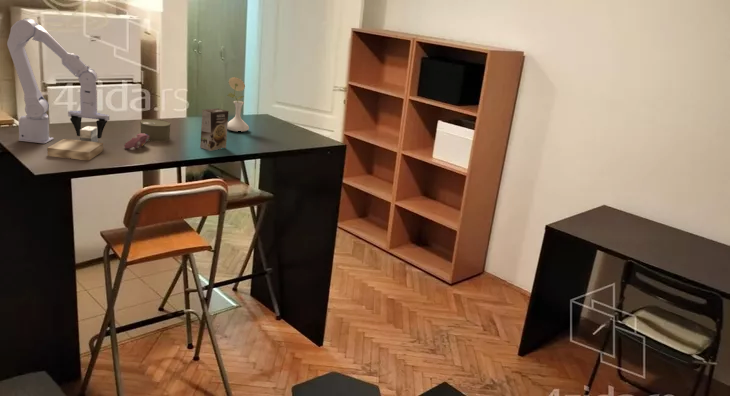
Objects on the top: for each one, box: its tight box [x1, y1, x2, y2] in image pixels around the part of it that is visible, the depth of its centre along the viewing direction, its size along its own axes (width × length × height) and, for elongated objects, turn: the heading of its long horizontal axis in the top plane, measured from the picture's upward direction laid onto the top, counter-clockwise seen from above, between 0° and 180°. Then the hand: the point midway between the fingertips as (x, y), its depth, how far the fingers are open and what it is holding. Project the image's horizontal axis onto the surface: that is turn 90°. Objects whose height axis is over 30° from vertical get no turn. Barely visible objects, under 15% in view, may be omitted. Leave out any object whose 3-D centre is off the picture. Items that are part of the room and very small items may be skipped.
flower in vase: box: [226, 76, 250, 132], centre depth 275 cm, size 13×11×25 cm
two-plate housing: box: [79, 125, 99, 143], centre depth 225 cm, size 4×7×6 cm, turn 4°
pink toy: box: [124, 132, 149, 150], centre depth 229 cm, size 10×5×7 cm, turn 169°
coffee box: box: [199, 108, 229, 152], centre depth 241 cm, size 9×6×16 cm
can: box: [139, 118, 171, 143], centre depth 245 cm, size 12×12×7 cm
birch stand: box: [46, 138, 104, 162], centre depth 211 cm, size 14×14×3 cm
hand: (89, 136), depth 225 cm, fingers open, 7 cm apart
